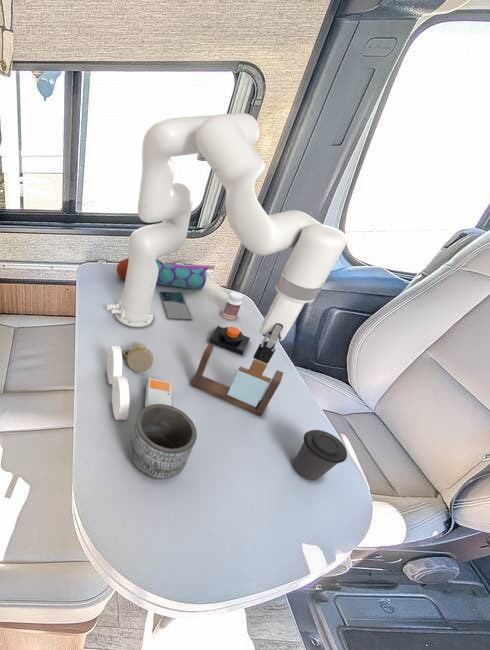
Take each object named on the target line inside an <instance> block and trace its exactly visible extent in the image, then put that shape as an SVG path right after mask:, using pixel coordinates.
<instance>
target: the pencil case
mask: <svg viewBox="0 0 490 650" xmlns="http://www.w3.org/2000/svg"><path fill="white" fill-rule="evenodd" d="M156 263H157V266H158V269H159V272H158V277H157V282H156V284H158V285H161V286H168V287H174V288H182V289H183V288H184V289H193V290H203V289H204V288H205V286H206V282H207V271H208V270H209V268H210V265H195V264H194V265H187V264H180V263H179V264H178V263H170V262H166V261H163V260H162V259H159V257H158V258H157V259H156Z"/></svg>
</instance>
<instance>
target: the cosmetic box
mask: <svg viewBox="0 0 490 650" xmlns="http://www.w3.org/2000/svg"><path fill="white" fill-rule="evenodd" d="M172 384H173V383H172V381H167V380H161V379H156V378H152V377H148V380H147V384H146V387H145V398H144V408H145V407H147V406H149V405H154V404H165V405H169V406H172V402H173V401H172V398H173V397H172V391H173V390H172V387H173V385H172Z"/></svg>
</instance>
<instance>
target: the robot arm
mask: <svg viewBox="0 0 490 650" xmlns="http://www.w3.org/2000/svg"><path fill="white" fill-rule="evenodd" d="M259 136H260V126H259V124H258V120H256V118H255V117H253V116H252V115H251V114H250V113H246V112H234V113H222V114H216V115H215V114H214V115H197V116H182V117H181V116H180V117H173V118H166V119H163V120H159V121H156V122H155V123H153V124H152V125H151V126H150V127H149V128H148V129H147V130H146V132H145V133H144V136H143V138H142V141H141V148H140V155H141V156H140V157H141V175H140V181H139V191H138V199H137V200H138V201H137V202H138V203H137V215H138V218H139V219H140V220H141V221H142V222H144V223H149V224H148V225H145V226H141V227H138V228H137V229H135V230H134V231H132V233H131V234H130V235H129V238H128V258H129V260H128V268H127V274H126V280H125V279H124V280H125V281H124V285H123V286H124V287H123V291H122V297H121V299H120V300H118V302H117V303H115V304H112V303H110V304H108V303H107V304H105V307H106V308H105V309H106V311H110V312H111V314H113V315H114V317H115V318H116V320H118V322H119V323H121V324H123V325H126V326H128V327H132V328H143V327H147V326H149V325H150V324H152V322H153V319H154V313H153V311H152V310H151V307H152V303H153V298H154V295H155V291H156V286H157V283H156V282H157V277H158V272H159V269H158V266H157V263H156V259H157V258H158V259H159V258H160V257H163V256H167V255H169V254H173V253H177V252H178V251H180V250H181V249H182V248H183V247H184V245H185V243H186V240H187V236H188V231H189V226H190V221H191V215H192V209H193V196H192V193H191V191H190V189H189V188H188V186H187V185H185V184H183V183H180V182H175V183H174V178H175V167H174V163H173V161H172V160H173V159H172V158H173V157H182V156H190V155H196V154H201V155H202V157H203V158H204V160H205V161H206V163H207V164H208V166H209V168H211V169H212V171H213V173H214V174H215V176H216V177H217V179H218V181H219V182H220V184H221V185H222V186H223V188H224V190H225V198H224V199H225V200H224V201H225V202H224V203H225V204H224V205H225V213H226V218H227V222H228V224H229V226H230V228H231V229H232V230H233V232H234V233H235V235H236V237H237V238H238V240H239V241H240V242H241V244H242V245H243V246H244V247H245V248H246V249H247V250H248V251H249V252H251V253H252V254H254V255H256V256H262V257H263V256H269V255H273V254H276V253H280V252H282V251H291V253H290V256H289V257H288V260H287V262H286V264H285V266H284V268H283V270H282V272H281V274H280V276H279V278H278V281H277V282H276V284H275V286H274V288H275V291H276V295H275V297H274V299H273V300H272V303H271V305H270V306H269V309H268V311H267V312H266V315H265V317H264V319H263V321H262V324H261V327H260V328H259V334H260V335H262V336H263V340H262V342H261V343H259V345H258V347H257V349H256V351H255V353H254V354H253V360H254V359H255V360H258V361H261V362H263V363H266V364H269V363H270V362H271V360H272V357H273V355H274V354H275V352H276V348H277V346H278V343H279V342H282V341H284V339H286V337H287V335H288V333H289V331H290V330H291V328H292V327H293V325H294V323H295V322H296V321H297V319H298V317H299V315H300V313H301V312H302V310H303V308H304V306H305V304H308V303H309V304H310V303H312V302H314V301H315V300H316V298H317V296H318V294H319V293H320V291H321V290H322V288H323V286H324V284H325V282H326V281H327V279H328V277H329V275H330V273H331V272H332V270H333V269H334V267H335V265H336V263H337V261H338V259H339V258H340V256H341V254H342V253H343V251H344V249H345V247H346V245H347V244H348V238H347V235H346V233H344V232H343V231H341V230H340V229H337V228H336V227H333V226H329V225H324V224H323V223H321V222H320V221H318V220H317V219H315V218H313V217H312V216H311V215H309V214H307V213H306V212H304V211H301V210H296V209H292V210H291V209H289V210H286V211H285V210H284V211H281V212H277V213H274V214H269V215H268V214H267V212H266V210H264V208H263V207H262V205H261V204H260V202H259V200H258V198H257V196H256V193H255V184H256V182H257V181H258V180H259V179H260V177H261V176H262V175H263V174H264V171H265V168H266V164H265V161H264V160H263V158H262V157H261V156H260V155H259V153H258V152H257V150H256V149H255V148H254V146H255V145H256V143H257V142H258V139H259ZM150 223H151V224H150ZM152 223H153V224H152Z"/></svg>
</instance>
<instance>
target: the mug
mask: <svg viewBox="0 0 490 650" xmlns="http://www.w3.org/2000/svg"><path fill="white" fill-rule="evenodd" d="M122 357H124V358H125V359H126V363H127V365H128V368H129V369H130V370H133V371H134V372H136V373H143V372H146V371H147V370H149V369H150V368H151V367H152V365H153V362H154V356H153V354H152V352H151V350H150V349H149V348H148V347H147V346H146V344H144V343H142V342H136V343H134V344H133V346H132V348H131V349H126V350H124V351H123V352H122Z"/></svg>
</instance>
